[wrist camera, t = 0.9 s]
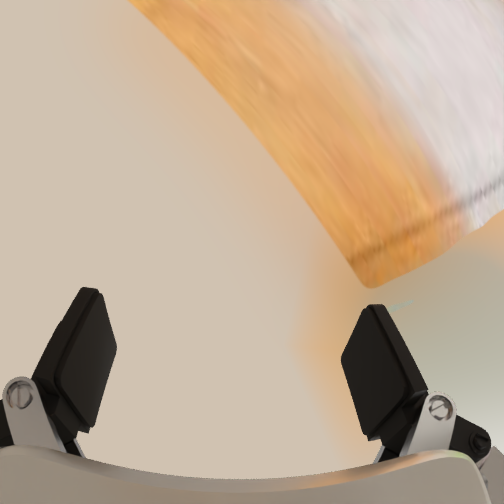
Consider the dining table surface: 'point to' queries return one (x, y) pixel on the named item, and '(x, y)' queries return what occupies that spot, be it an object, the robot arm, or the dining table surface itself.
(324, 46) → the dining table surface
